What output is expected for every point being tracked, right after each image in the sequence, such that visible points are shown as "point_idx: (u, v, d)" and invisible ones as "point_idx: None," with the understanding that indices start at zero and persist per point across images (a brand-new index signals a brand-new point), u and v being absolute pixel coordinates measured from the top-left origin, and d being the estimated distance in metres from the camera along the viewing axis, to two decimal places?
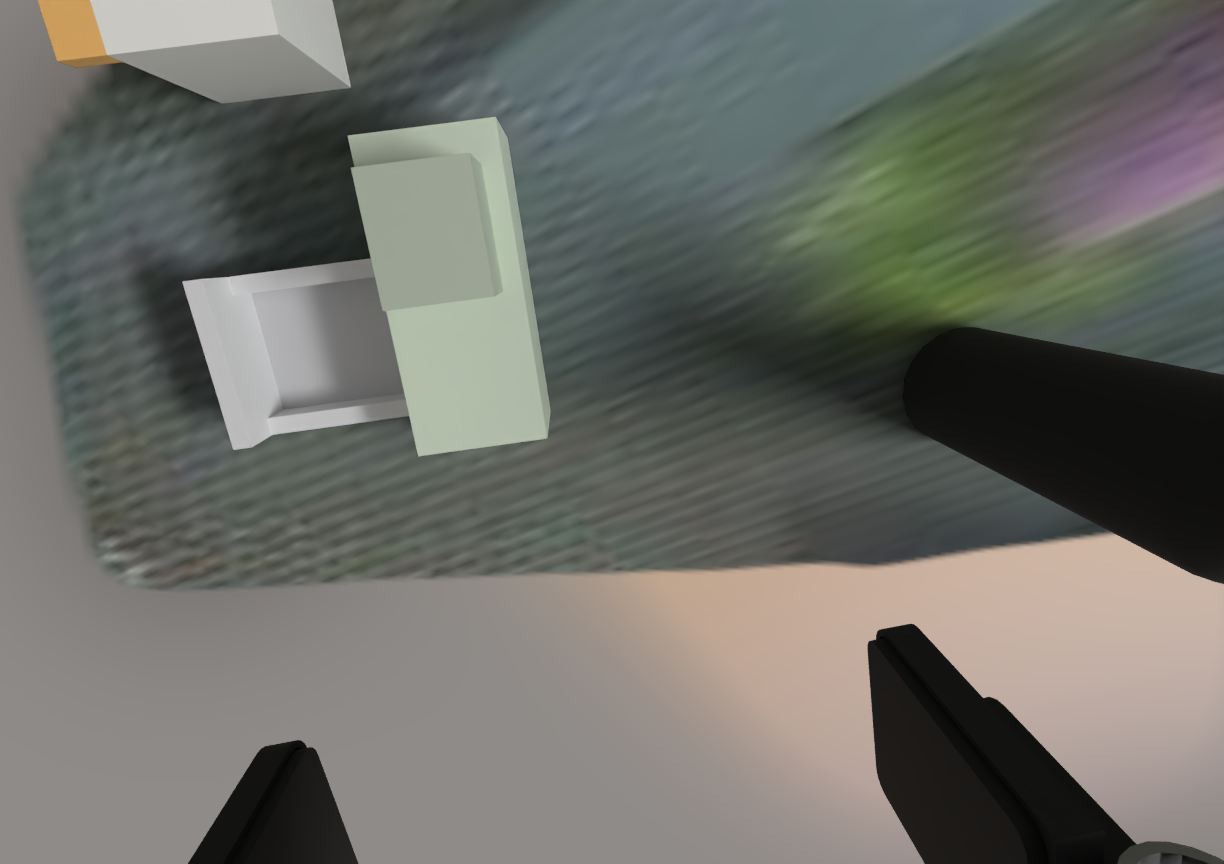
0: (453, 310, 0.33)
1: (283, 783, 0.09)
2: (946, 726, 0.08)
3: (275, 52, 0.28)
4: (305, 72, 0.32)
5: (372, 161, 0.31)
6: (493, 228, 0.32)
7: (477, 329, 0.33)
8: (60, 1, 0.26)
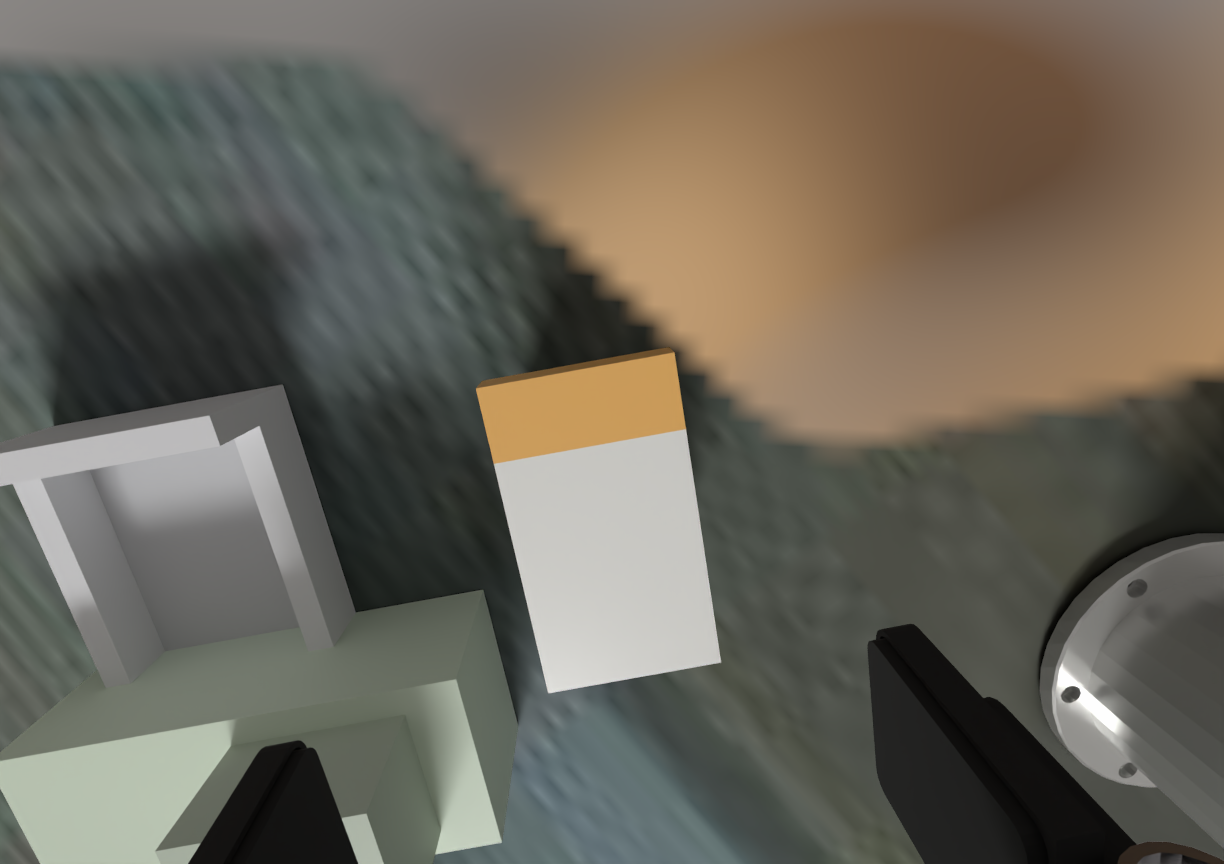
0: None
1: (283, 783, 0.09)
2: (946, 726, 0.08)
3: None
4: None
5: (426, 708, 0.22)
6: None
7: None
8: (563, 408, 0.16)
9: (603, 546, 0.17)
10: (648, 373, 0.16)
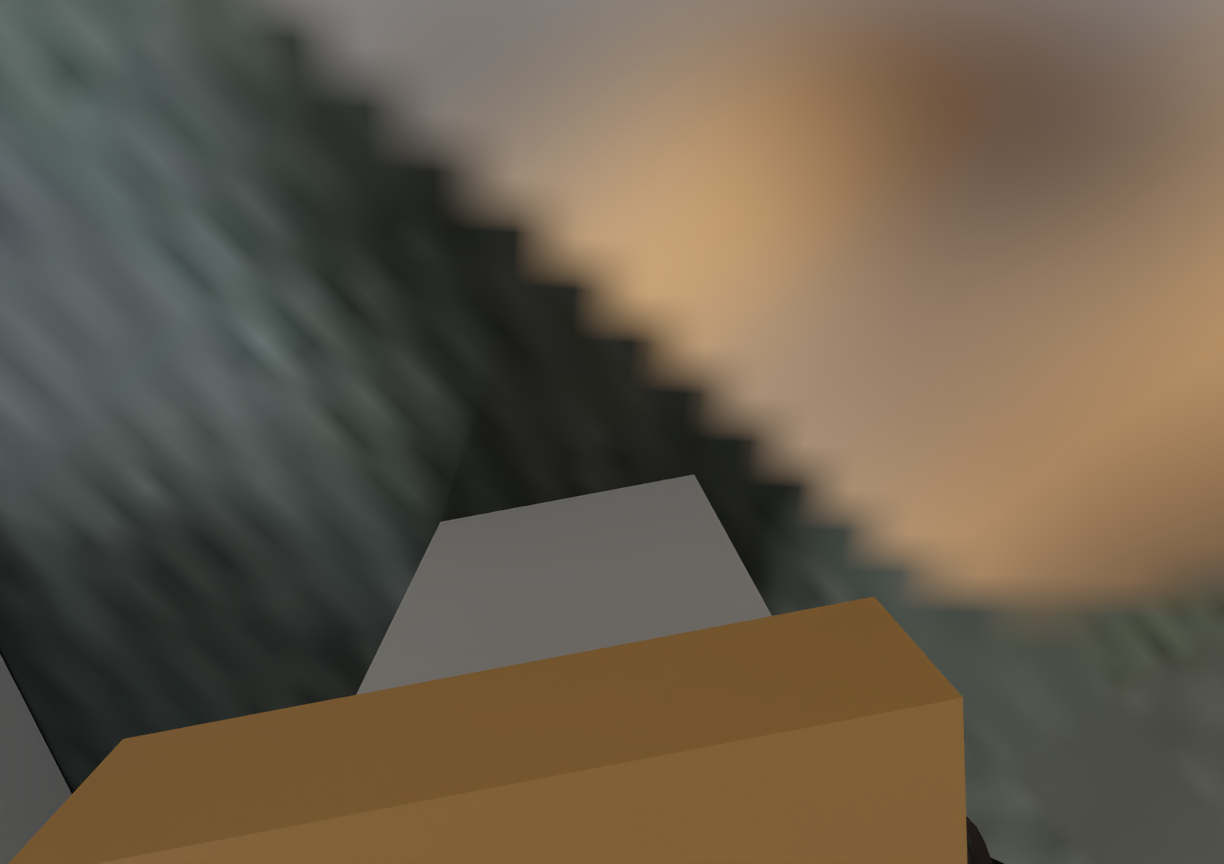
0: None
1: None
2: None
3: None
4: None
5: None
6: None
7: None
8: None
9: None
10: (832, 787, 0.03)
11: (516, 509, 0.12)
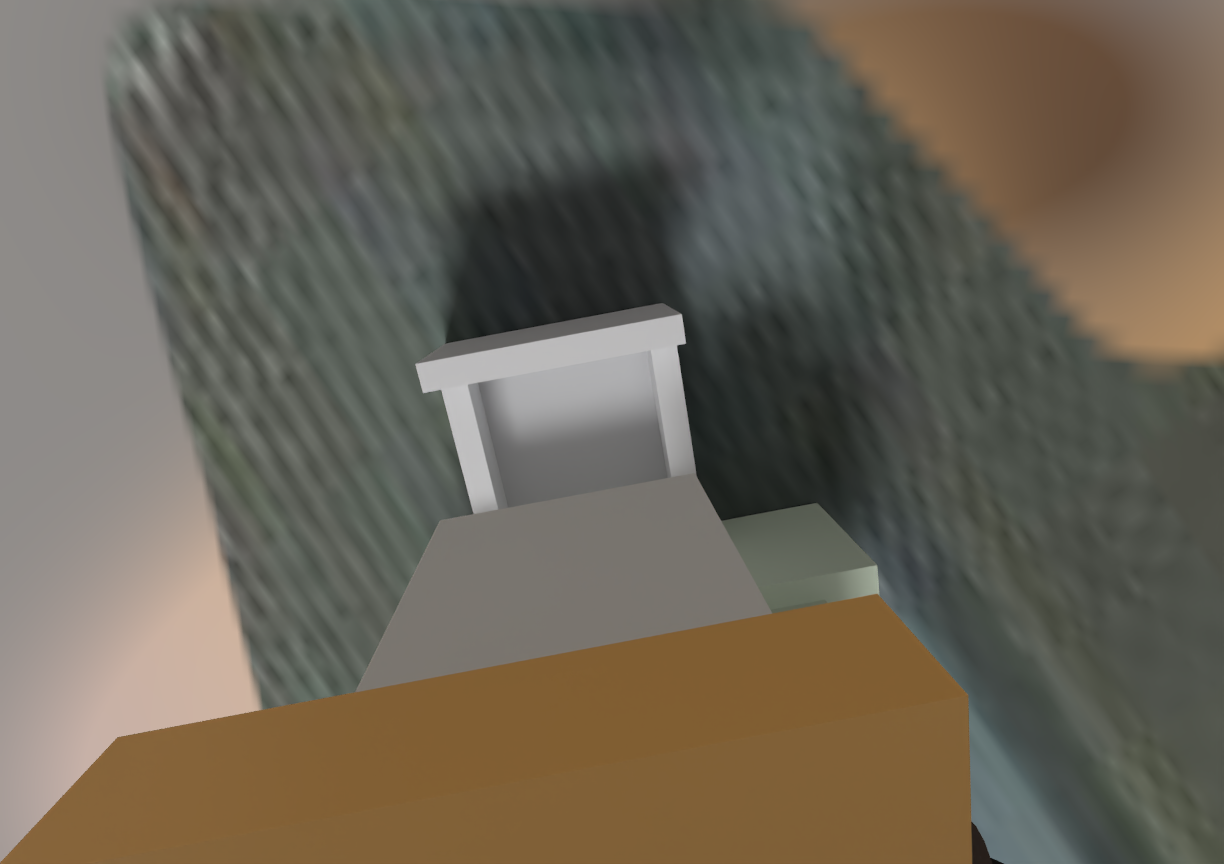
0: None
1: None
2: None
3: None
4: None
5: (845, 593, 0.23)
6: None
7: None
8: None
9: None
10: (835, 786, 0.03)
11: (516, 508, 0.12)
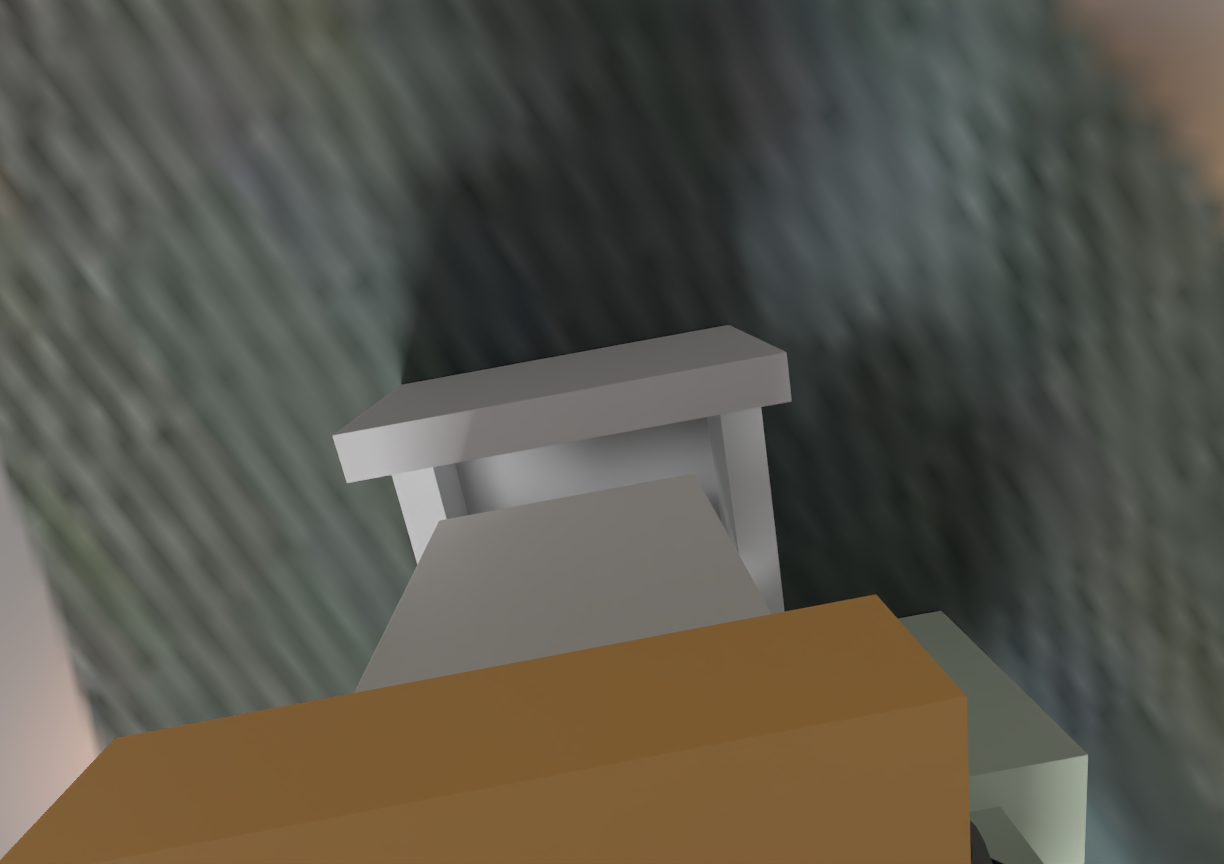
0: None
1: None
2: None
3: None
4: None
5: (1033, 797, 0.15)
6: None
7: None
8: None
9: None
10: (833, 786, 0.03)
11: (515, 508, 0.12)
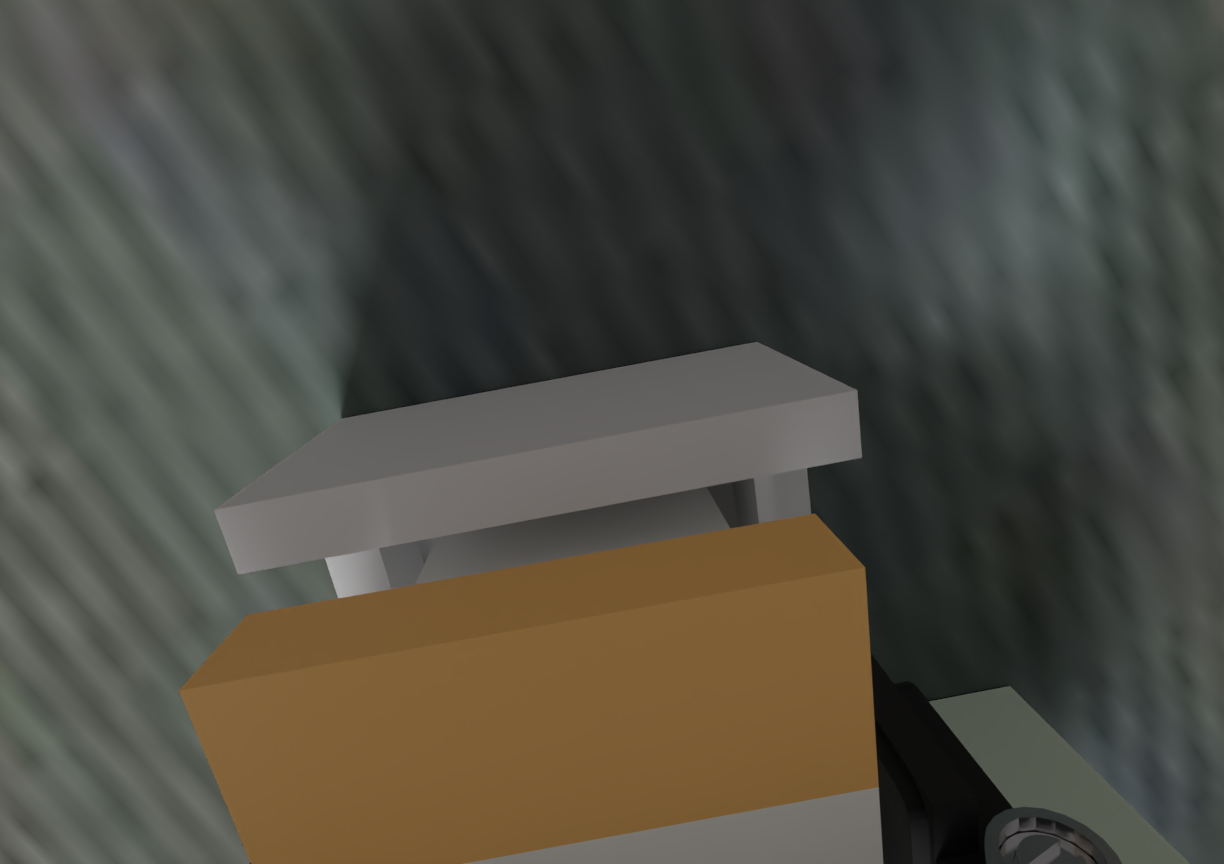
0: None
1: None
2: None
3: None
4: None
5: None
6: None
7: None
8: (486, 742, 0.05)
9: None
10: (772, 633, 0.05)
11: None
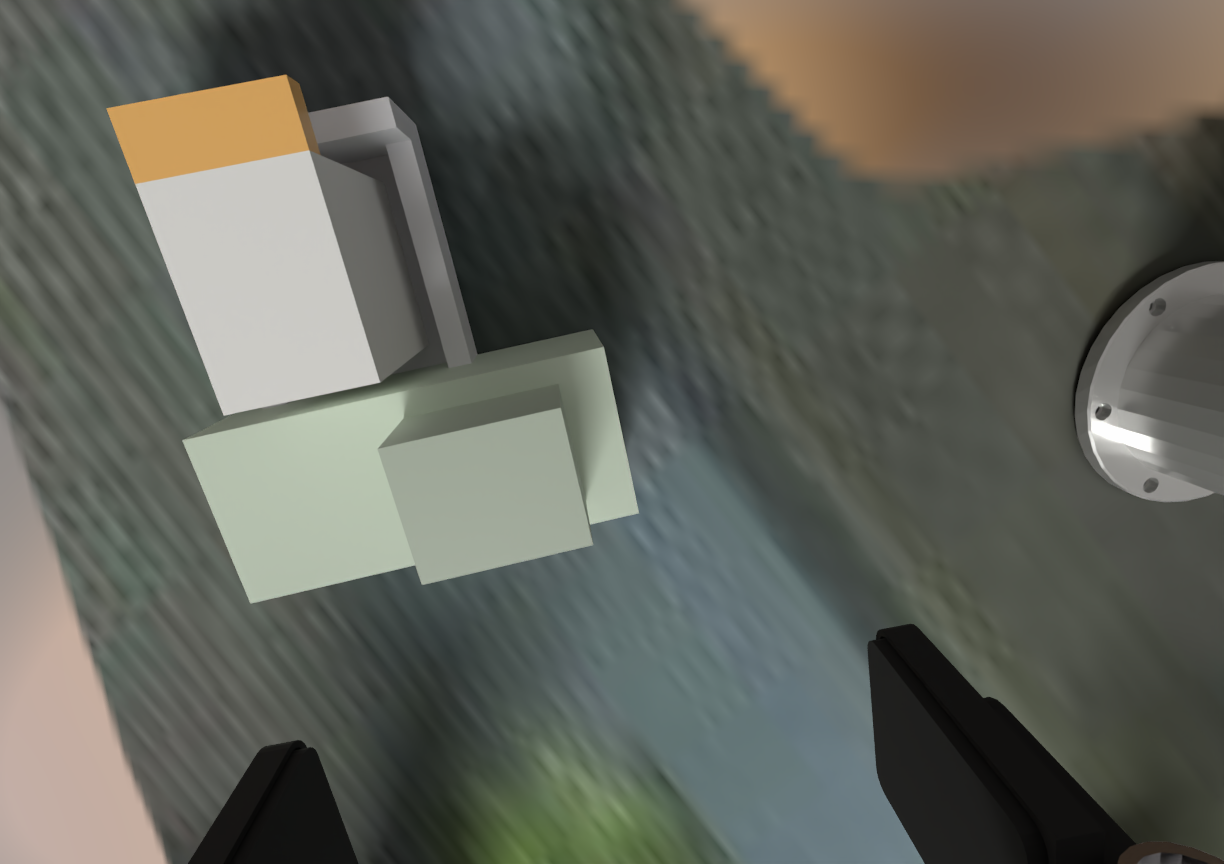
0: None
1: (283, 783, 0.09)
2: (946, 726, 0.08)
3: None
4: None
5: (577, 377, 0.25)
6: None
7: (385, 509, 0.25)
8: (191, 128, 0.18)
9: (251, 267, 0.19)
10: (265, 95, 0.18)
11: None
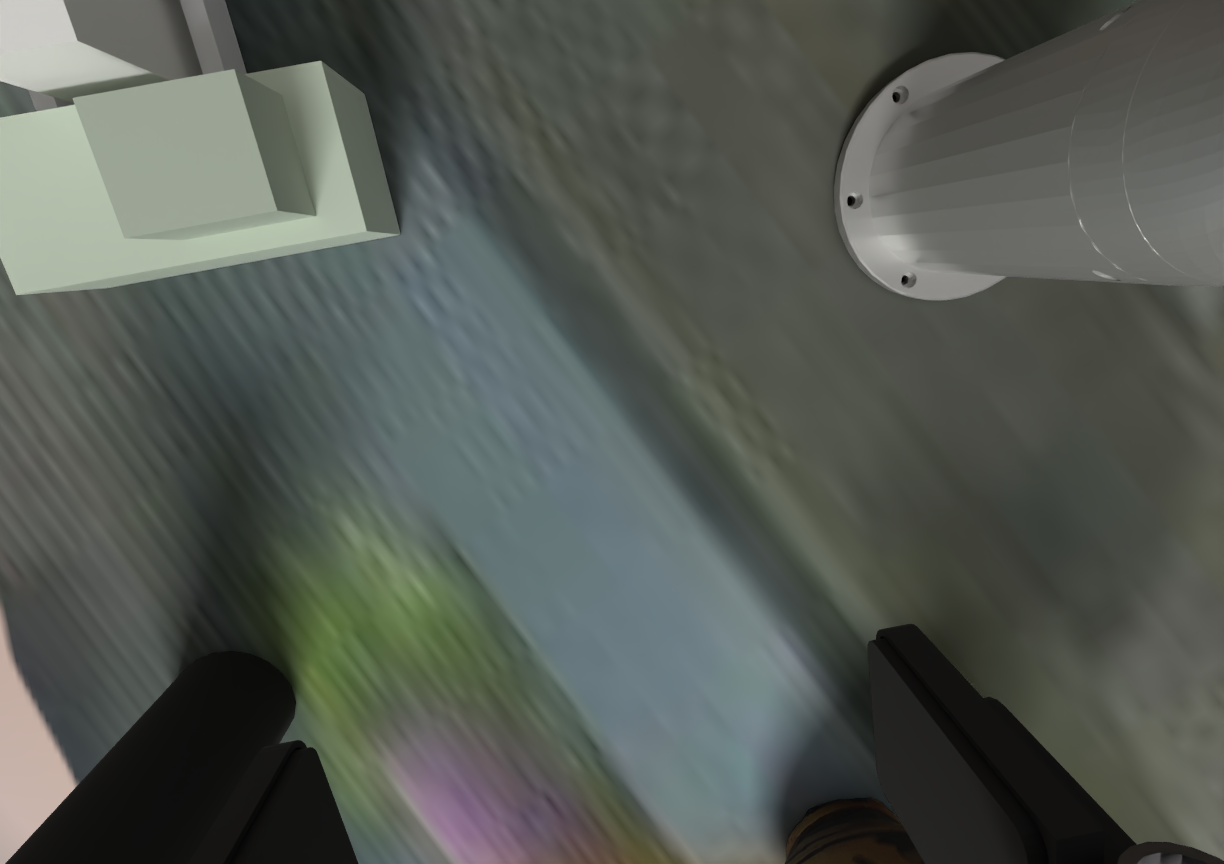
0: None
1: (283, 783, 0.09)
2: (946, 726, 0.08)
3: None
4: None
5: (298, 89, 0.27)
6: (251, 229, 0.29)
7: None
8: None
9: None
10: None
11: None
